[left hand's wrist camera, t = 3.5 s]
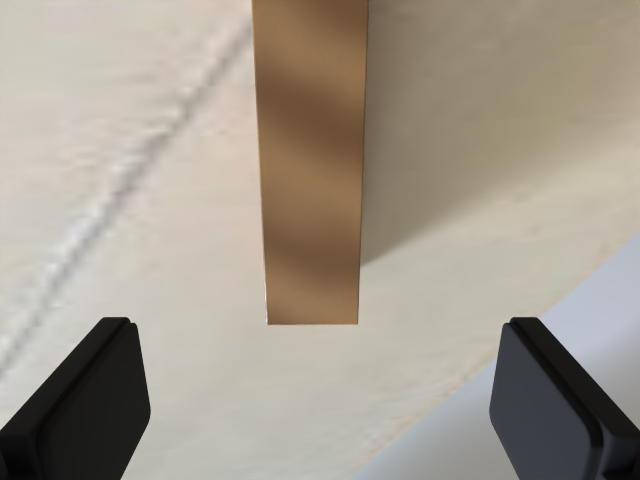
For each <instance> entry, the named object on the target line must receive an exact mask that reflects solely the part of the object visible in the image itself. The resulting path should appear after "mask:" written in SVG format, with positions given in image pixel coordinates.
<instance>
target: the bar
mask: <svg viewBox="0 0 640 480" xmlns="http://www.w3.org/2000/svg"><path fill="white" fill-rule="evenodd" d="M251 1H252V23H253V44H254V65H255V87H256V108H257V129H258V151H259V172H260V193H261V215H262V236H263V257H264V279H265V300H266V321H267V325H357V324H358V308H359V278H360V249H361V219H362V189H363V159H364V129H365V100H366V70H367V40H368V10H369V0H251Z"/></svg>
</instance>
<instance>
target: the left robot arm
mask: <svg viewBox="0 0 640 480" xmlns="http://www.w3.org/2000/svg"><path fill="white" fill-rule="evenodd" d="M150 413H151V409H150V402H149V396H148V389H147V383H146V377H145V371H144V365H143V358H142V352H141V346H140V340H139V334H138V328H137V325H136V324H135V323H131V322H130V320H129V318H127V317H104V318H102V319H101V320H100V321H99V322H98V323H97V324H96V325H95V327H94V328H93V329H92V330H91V331H90V332H89V333H88V334H87V335H86V336H85V338H84V339H83V340H82V341H81V342H80V343H79V344H78V345H77V346H76V348H75V349H74V350H73V351H72V352H71V353H70V354H69V355H68V356H67V357H66V359H65V360H64V361H63V362H62V363H61V364H60V365H59V366H58V367H57V368H56V370H55V371H54V372H53V373H52V374H51V375H50V376H49V377H48V378H47V380H46V381H45V382H44V383H43V384H42V385H41V386H40V387H39V388H38V389H37V391H36V392H35V393H34V394H33V395H32V396H31V397H30V398H29V399H28V401H27V402H26V403H25V404H24V405H23V406H22V407H21V408H20V409H19V410H18V412H17V413H16V414H15V415H14V416H13V417H12V418H11V419H10V420H9V422H8V423H7V424H6V425H5V426H4V427H3V428H2V429H1V430H0V480H120V479H121V477H122V475H123V473H124V471H125V469H126V467H127V465H128V463H129V461H130V459H131V457H132V455H133V453H134V451H135V449H136V447H137V445H138V443H139V441H140V439H141V437H142V435H143V433H144V431H145V429H146V427H147V425H148V423H149V419H150ZM489 413H490V419H491V423H492V425H493V427H494V429H495V431H496V433H497V435H498V437H499V439H500V441H501V443H502V445H503V447H504V449H505V451H506V453H507V455H508V457H509V459H510V461H511V463H512V465H513V467H514V469H515V471H516V473H517V475H518V477H519V479H520V480H640V430H639V429H638V428H637V427H636V426H635V425H634V424H633V423H632V422H631V420H630V419H629V418H628V417H627V416H626V415H625V414H624V413H623V412H622V410H621V409H620V408H619V407H618V406H617V405H616V404H615V403H614V402H613V401H612V399H611V398H610V397H609V396H608V395H607V394H606V393H605V392H604V391H603V389H602V388H601V387H600V386H599V385H598V384H597V383H596V382H595V381H594V380H593V378H592V377H591V376H590V375H589V374H588V373H587V372H586V371H585V370H584V368H583V367H582V366H581V365H580V364H579V363H578V362H577V361H576V360H575V359H574V357H573V356H572V355H571V354H570V353H569V352H568V351H567V350H566V349H565V348H564V346H563V345H562V344H561V343H560V342H559V341H558V340H557V339H556V338H555V336H554V335H553V334H552V333H551V332H550V331H549V330H548V329H547V328H546V327H545V325H544V324H543V323H542V322H541V321H540V320H539V319H538V318H536V317H513V318H511V320H510V322H509V323H505V324H504V325H503V328H502V334H501V340H500V346H499V352H498V358H497V365H496V371H495V377H494V383H493V389H492V396H491V402H490V409H489Z"/></svg>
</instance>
